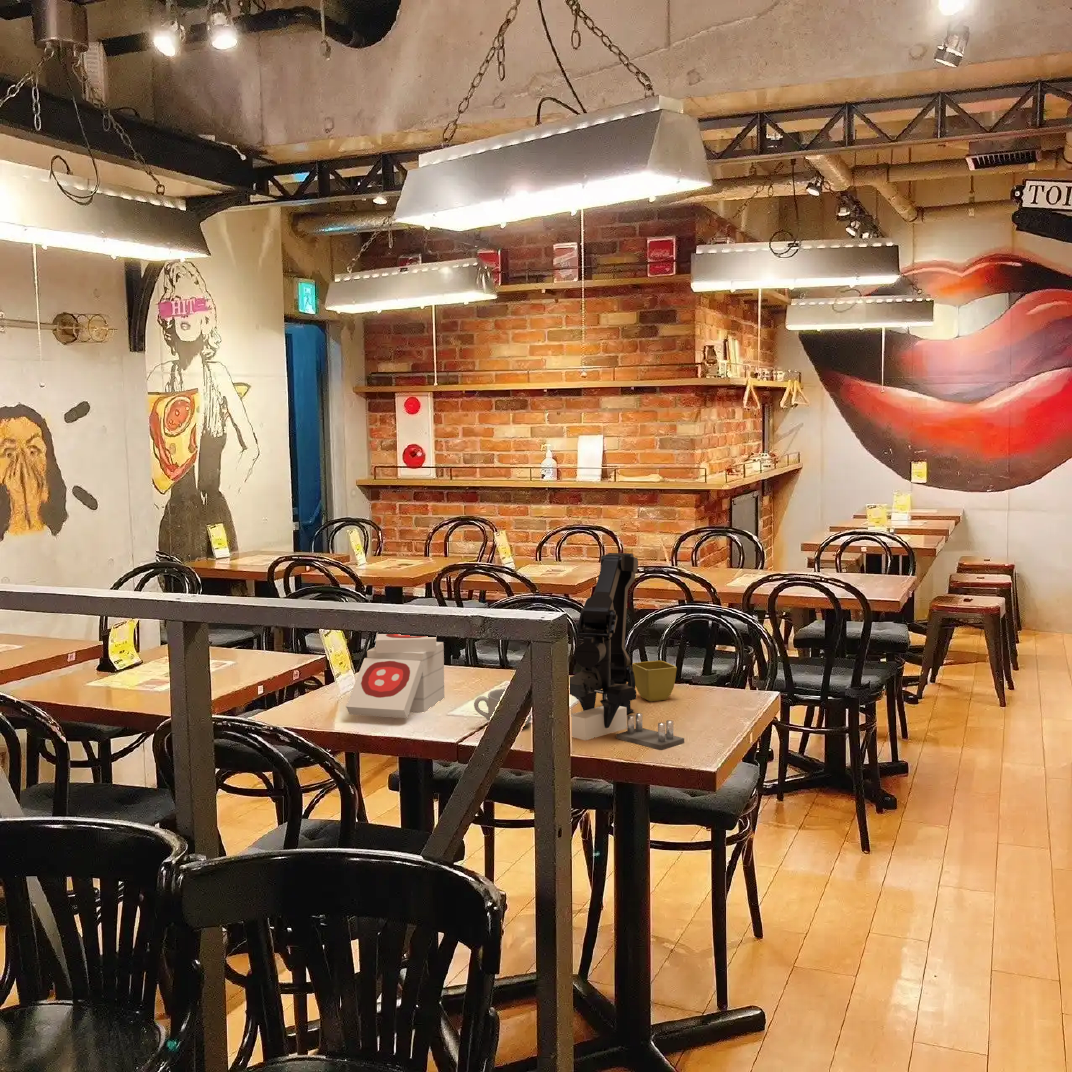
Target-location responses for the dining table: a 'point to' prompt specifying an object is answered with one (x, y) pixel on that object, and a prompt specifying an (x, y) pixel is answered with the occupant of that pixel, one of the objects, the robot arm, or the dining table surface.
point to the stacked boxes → (399, 677)
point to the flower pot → (654, 679)
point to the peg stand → (649, 734)
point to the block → (597, 723)
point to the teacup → (491, 703)
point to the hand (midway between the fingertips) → (598, 725)
